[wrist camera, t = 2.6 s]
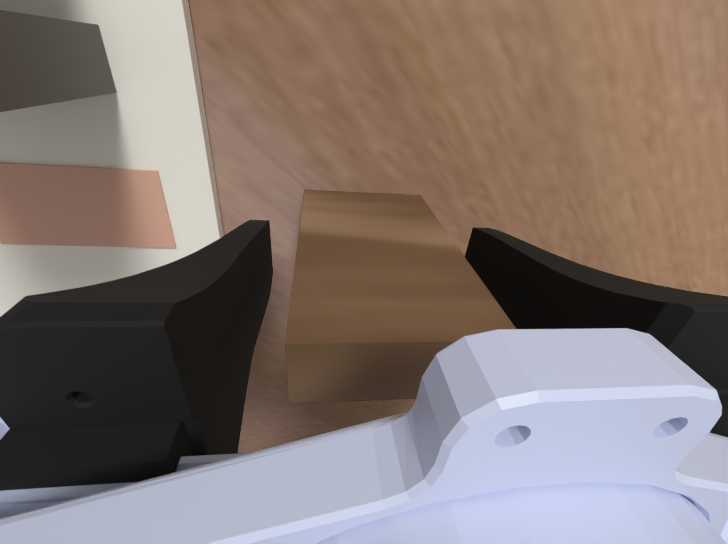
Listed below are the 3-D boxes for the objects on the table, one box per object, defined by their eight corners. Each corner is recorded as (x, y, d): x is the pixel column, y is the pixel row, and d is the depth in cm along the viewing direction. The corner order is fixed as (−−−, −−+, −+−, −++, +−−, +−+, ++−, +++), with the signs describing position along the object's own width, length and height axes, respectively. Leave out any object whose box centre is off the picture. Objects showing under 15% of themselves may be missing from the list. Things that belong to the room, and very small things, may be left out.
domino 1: (413, 232, 16) (499, 395, 8) (304, 229, 15) (288, 403, 7) (420, 195, 15) (524, 340, 7) (304, 189, 14) (285, 344, 6)
